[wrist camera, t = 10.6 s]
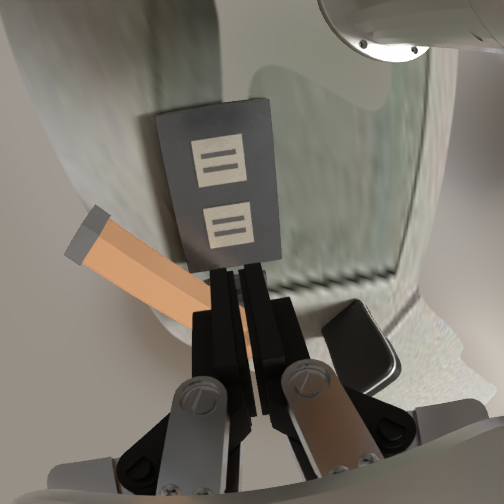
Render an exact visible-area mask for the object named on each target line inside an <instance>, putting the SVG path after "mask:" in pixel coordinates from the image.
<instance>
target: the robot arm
mask: <svg viewBox="0 0 504 504" xmlns="http://www.w3.org/2000/svg"><path fill="white" fill-rule="evenodd" d="M317 1H318V5H319V8H320V11H321V13H322V15H323V17H324V19H325V21H326V22H327V24H328V25H329V27H330V28H331V30H332V31H333V32H334V33H335V34H336V35H337V37H338V38H339V39H340V40H341V41H342V42H344V43H345V44H346V45H347V46H349V47H350V48H351V49H353V50H354V51H356V52H357V53H359V54H361V55H363V56H365V57H367V58H370V59H373V60H376V61H381V62H389V63H400V62H407V61H410V60H413V59H416V58H417V57H419V56H420V55H422V54H424V53H425V51H426V50H427V49H428V48H429V47H439V48H455V49H467V50H477V51H485V52H492V53H493V52H494V53H500V54H504V0H317ZM359 42H360V43H361V47H360V46H359ZM238 272H239V278H240V284H241V291H242V297H243V303H244V309H245V315H246V321H247V327H248V333H249V339H250V345H251V351H252V357H253V363H254V369H255V374H256V380H257V385H258V392H259V398H260V403H261V409H262V414H263V415H268V414H269V416H270V421H271V423H272V427H273V428H274V429H276V430H278V431H280V432H281V433H283V434H285V438H286V440H287V443H288V445H289V447H290V450H291V452H292V455H293V457H294V460H295V462H296V465H297V467H298V469H299V472H300V474H301V476H302V479H303V481H304V482H300V483H295V484H290V485H284V486H279V487H273V488H266V489H260V490H253V491H244V492H241V486H242V485H241V484H242V463H243V462H242V461H243V440H244V439H245V438H246V436H247V435H248V434H249V433H250V432H251V426H252V423H251V417H255V416H257V413H256V406H255V400H254V394H253V388H252V381H251V375H250V369H249V363H248V356H247V350H246V343H245V337H244V331H243V325H242V319H241V314H240V308H239V302H238V297H237V291H236V285H235V279H234V273H233V271H228V272H227V270H226V267H225V268H219V269H212V270H210V294H211V309H210V310H203V311H196V312H193V314H192V378H191V379H188V380H186V381H185V382H183V383H182V384H181V385H180V386H179V387H178V388H177V390H176V391H175V394H174V397H173V401H172V406H171V412H170V413H169V414H168V415H167V416H166V417H164V418H163V419H162V420H161V421H160V422H159V423H158V424H157V425H156V426H155V427H154V428H152V429H151V430H150V431H149V432H148V433H147V434H146V435H144V436H143V437H142V438H141V439H140V440H139V441H138V442H136V443H135V444H134V445H133V446H132V447H131V448H130V449H129V450H127V451H126V452H125V453H124V454H123V455H122V456H121V457H120V458H115V459H113V458H112V457H106V458H100V459H94V460H88V461H81V462H74V463H66V464H60V465H57V466H55V467H54V468H53V469H51V471H50V473H49V474H48V479H47V487H48V489H45V490H38V491H33V492H29V493H26V494H24V495H21V496H19V497H18V498H16V499H14V500H13V501H12V502H11V503H10V504H504V416H500V417H494V418H489V416H488V413H487V410H486V408H485V406H484V405H483V404H482V403H481V402H480V401H478V400H475V399H463V400H458V401H453V402H448V403H442V404H436V405H430V406H424V407H417V408H415V409H414V411H404V410H402V409H400V408H398V407H395V406H393V405H390V404H388V403H385V402H383V401H380V400H378V399H375V398H373V397H370V396H368V395H366V394H363V393H361V392H358V391H356V390H354V389H351V388H349V387H347V386H344V385H342V384H341V383H340V381H339V379H338V377H337V376H336V374H335V372H334V371H333V370H332V368H331V367H330V366H329V365H327V364H326V363H324V362H322V361H319V360H315V359H310V356H309V353H308V350H307V347H306V344H305V341H304V338H303V335H302V331H301V328H300V325H299V322H298V320H297V317H296V314H295V311H294V308H293V305H292V302H291V299H290V297H285V298H279V299H273V300H270V297H269V294H268V290H267V286H266V282H265V278H264V275H263V271H262V267H261V263H260V262H257V263H251V264H244V269H241V270H238Z"/></svg>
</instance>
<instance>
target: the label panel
mask: <svg viewBox="0 0 504 504" xmlns="http://www.w3.org/2000/svg"><path fill="white" fill-rule="evenodd" d="M155 120H156V125H157V131H158V136H159V141H160V146H161V152H162V157H163V161H164V166H165V171H166V176H167V181H168V185H169V190H170V194H171V199H172V203H173V208H174V212H175V216H176V221H177V225H178V229H179V233H180V237H181V242H182V246H183V250H184V254H185V258H186V262H187V265H188V269H189V273H196V272H203V271H209V270H212V269H219V268H225V267H226V268H229V267H235V266H241V265H244V264H251V263H257V262H267V261H273V260H279V259H282V254H281V238H280V223H279V208H278V194H277V181H276V168H275V156H274V144H273V132H272V121H271V110H270V100H269V99H267V98H258V99H249V100H241V101H232V102H224V103H217V104H211V105H204V106H198V107H192V108H186V109H181V110H176V111H170V112H165V113H161V114H158V115H157V116H156V117H155Z"/></svg>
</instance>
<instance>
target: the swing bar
mask: <svg viewBox="0 0 504 504" xmlns="http://www.w3.org/2000/svg"><path fill="white" fill-rule="evenodd" d="M110 216H111V215H110V214H108V213H107V212H105V211H104V210H103V209H101V208H100V207H98V206H97V205H96V204H95V206H94V207H93V209H92V210H91V211H90V213H89V214H88V216H87V217H86V219H85V220H84V221H83V223H82V225H81V226H80V228H79V229H78V231H77V233H76V234H75V236H74V238H73V240H72V241H71V243H70V245H69V246H68V248H67V250H66V252H65V254H64V255H65V256H66V257H68V258H69V259H71V260H72V261H74V262H75V263H77V264H78V265H81V263H83V264H85V265H86V266H88V267H89V268H91V269H92V270H94V271H95V272H97V273H98V274H100V275H101V276H103V277H105V278H106V279H107V280H109V281H111V282H112V283H114V284H115V285H117V286H118V287H120V288H122V289H123V290H125V291H126V292H128V293H130V294H131V295H133V296H135V297H136V298H138V299H140V300H141V301H143V302H145V303H146V304H148V305H150V306H151V307H153V308H155V309H156V310H158V311H160V312H162V313H163V314H165V315H167V316H169V317H170V318H172V319H174V320H176V321H177V322H179V323H181V324H183V325H185V326H186V327H188V328H190V329H192V314H193V312H196V311H203V310H210V309H211V294H210V286H209V285H207V284H205V283H204V282H202V281H201V280H199V279H198V278H196V277H195V276H193V275H192V274H190V273H189V272H187V271H185V270H184V269H182V268H181V267H179V266H178V265H176V264H175V263H173V262H172V261H170V260H169V259H167V258H166V257H164V256H163V255H161V254H160V253H158V252H157V251H156V250H154V249H153V248H151V247H150V246H148V245H147V244H145V243H144V242H142V241H141V240H139V239H138V238H136V237H135V236H134V235H132V234H131V233H129V232H128V231H126V230H125V229H124V228H122V227H121V226H119V225H118V224H116V223H115V222H114V221H112V220H111V219H109V218H110ZM239 308H240V314H241V319H242V325H243V331H244V337H245V343H246V350H247V356H248V359H249V358H253V357H252V351H251V345H250V339H249V333H248V327H247V321H246V315H245V309H244V308H243V307H242V306H240V305H239Z"/></svg>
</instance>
